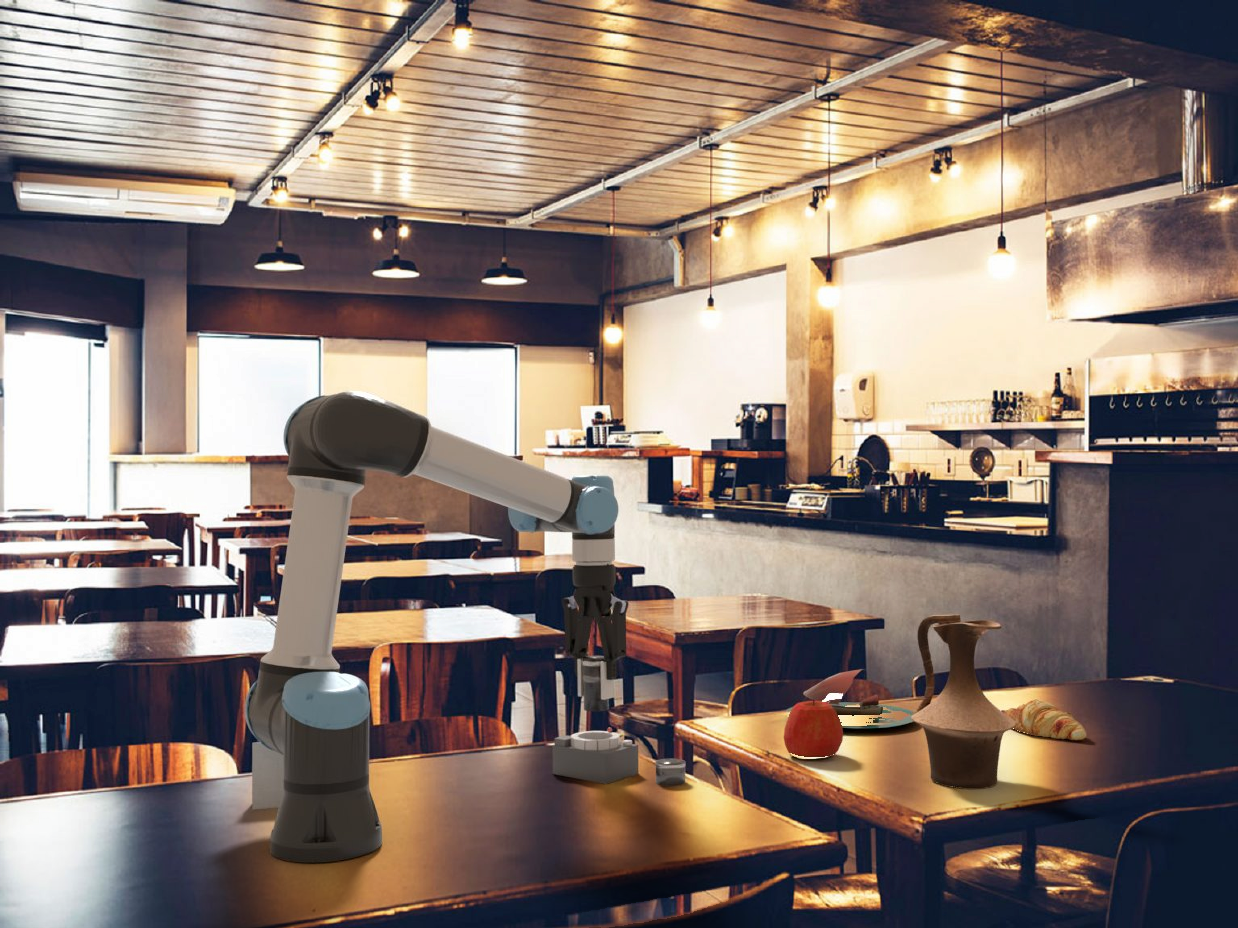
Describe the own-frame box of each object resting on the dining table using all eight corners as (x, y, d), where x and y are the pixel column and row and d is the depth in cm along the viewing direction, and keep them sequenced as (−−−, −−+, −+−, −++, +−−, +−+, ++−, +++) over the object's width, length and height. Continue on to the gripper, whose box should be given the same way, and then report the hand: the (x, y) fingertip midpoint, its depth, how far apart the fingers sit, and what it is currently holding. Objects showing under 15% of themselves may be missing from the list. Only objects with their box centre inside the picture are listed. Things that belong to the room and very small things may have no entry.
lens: (598, 712, 201) (597, 660, 201) (577, 709, 204) (577, 658, 204) (614, 708, 205) (613, 656, 205) (594, 705, 208) (593, 654, 208)
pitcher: (890, 781, 196) (888, 615, 197) (939, 764, 209) (936, 607, 210) (989, 799, 185) (986, 622, 185) (1035, 779, 197) (1032, 613, 198)
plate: (770, 711, 261) (769, 661, 261) (891, 708, 264) (891, 658, 264) (803, 737, 233) (803, 681, 233) (939, 733, 236) (938, 677, 236)
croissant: (1095, 759, 227) (1108, 721, 229) (1064, 740, 222) (1077, 701, 224) (1010, 737, 245) (1022, 702, 247) (979, 719, 241) (992, 683, 243)
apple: (838, 765, 209) (837, 705, 209) (778, 761, 212) (777, 702, 213) (847, 752, 219) (846, 695, 219) (789, 749, 222) (788, 692, 223)
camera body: (605, 783, 197) (605, 739, 197) (552, 773, 204) (552, 731, 204) (638, 773, 204) (638, 730, 204) (585, 764, 211) (585, 723, 211)
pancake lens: (673, 787, 194) (673, 766, 194) (649, 783, 197) (649, 762, 197) (691, 781, 198) (691, 761, 198) (667, 777, 201) (667, 757, 201)
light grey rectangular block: (297, 805, 185) (296, 742, 185) (252, 809, 183) (252, 745, 183) (296, 800, 188) (296, 737, 188) (252, 803, 186) (252, 740, 187)
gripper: (646, 563, 202) (649, 698, 202) (570, 560, 213) (571, 688, 213) (619, 566, 196) (622, 705, 196) (542, 563, 207) (544, 694, 207)
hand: (596, 696), depth 204 cm, fingers closed on lens, 5 cm apart
